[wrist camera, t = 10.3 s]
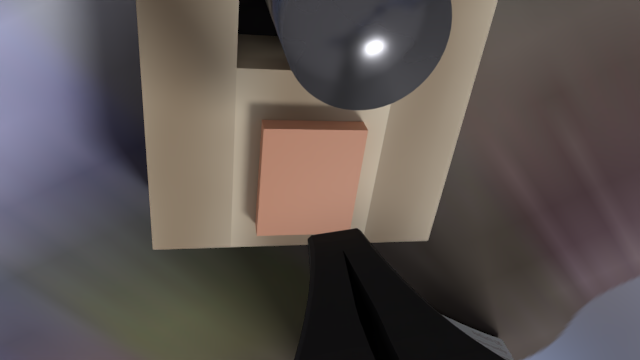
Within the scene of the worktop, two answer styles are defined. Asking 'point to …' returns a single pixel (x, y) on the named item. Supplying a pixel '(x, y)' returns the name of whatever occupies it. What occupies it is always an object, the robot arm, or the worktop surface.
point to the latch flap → (308, 176)
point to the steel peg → (362, 47)
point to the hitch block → (283, 104)
